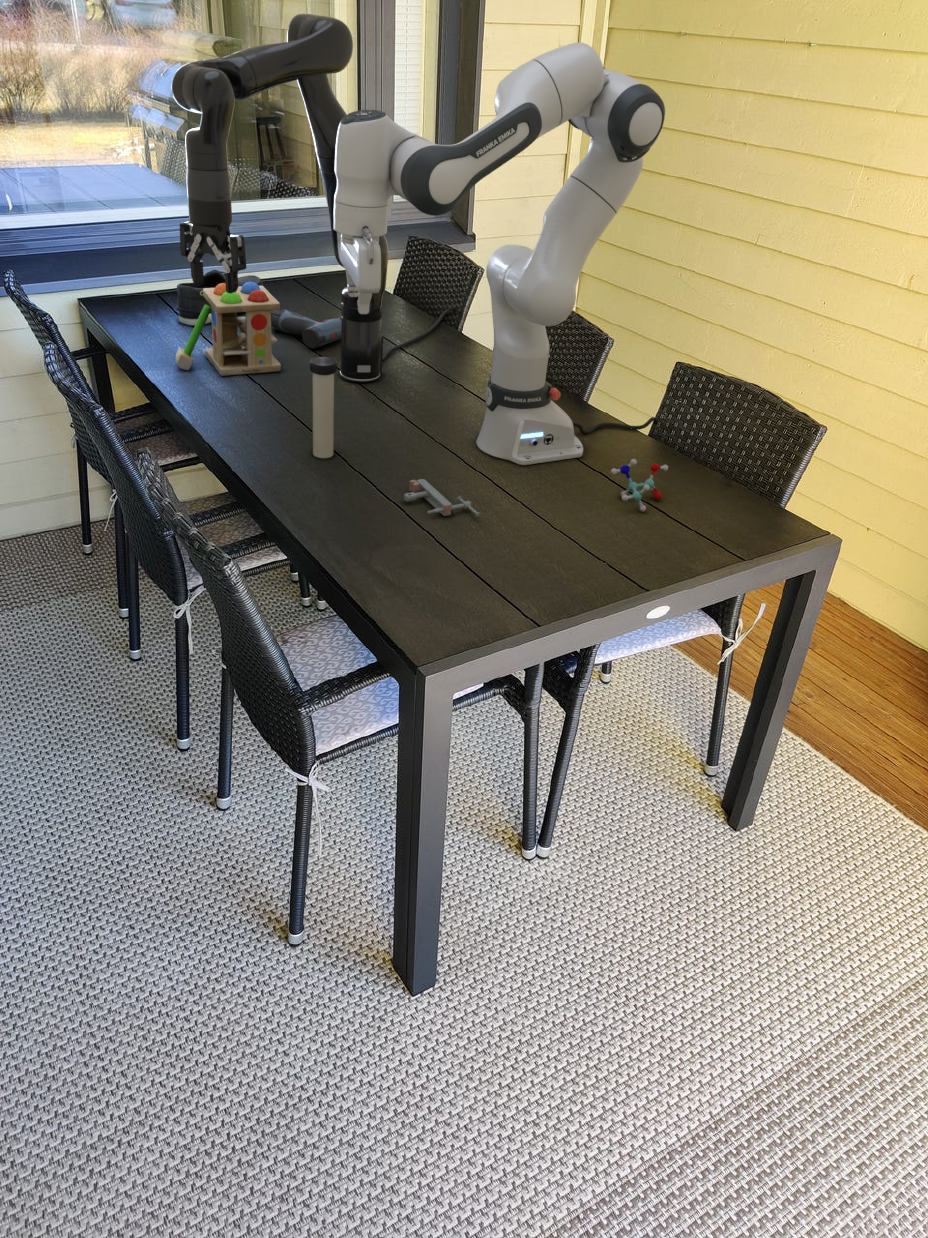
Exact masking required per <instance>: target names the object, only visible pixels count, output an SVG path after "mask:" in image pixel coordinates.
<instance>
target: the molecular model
mask: <svg viewBox="0 0 928 1238" xmlns="http://www.w3.org/2000/svg"><path fill="white" fill-rule="evenodd" d="M637 463H638V461H637V459H636V458H631V460H630V461H629V464H627V465H626V464H624V465H622V466H621V467H620V468H618V469H617V468H615V467H612V468H611V469H610V474H611V475H613V476H615V475H617V473H621V474H623V475H625V477H626V478H627V481H628V485H627V489H626V490H622V491H621V492H620V496H621V501H623V502H627V501H628V500H631V499H633V500H634V501H636V502H637V504H638V505H639V511H640V512H642V513H644V512H645V511H646V510H647V506H646V505H644V504H643V501H642V498H643V493H645V492H649V491H650V492H651V493H652V496H653V499H654V500H657V501H659V500H661V499H662V496H663V494H662V492H660V491H658V489H657V488H656V486H655V481H654V476H655V473H656V472H657V471H659V470H662V471H663V472H667V471H668V470H669V465H667V464H663V465H659V464H658V463H656V462H655V463H652V464H651V465H650V470H651V472H650V475H649V478H647V479H646V480H645V481H644V482H640V483H638V482H636V481H633V480H632V477H631V475H630V471H631V470H630V468H632V466H636V465H637ZM638 488H642V489H641V490H640V491H639V490H638ZM630 492H632V494H631V495H630V494H629V493H630ZM628 494H629V495H628Z"/></svg>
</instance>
